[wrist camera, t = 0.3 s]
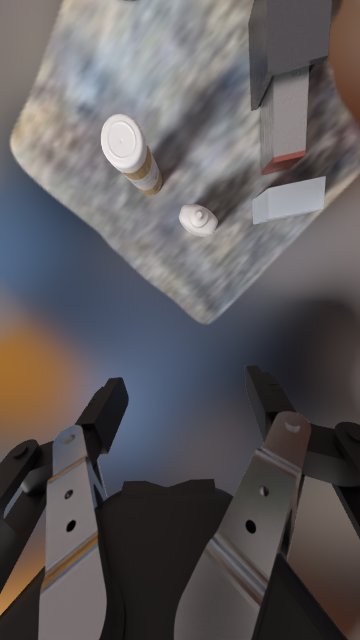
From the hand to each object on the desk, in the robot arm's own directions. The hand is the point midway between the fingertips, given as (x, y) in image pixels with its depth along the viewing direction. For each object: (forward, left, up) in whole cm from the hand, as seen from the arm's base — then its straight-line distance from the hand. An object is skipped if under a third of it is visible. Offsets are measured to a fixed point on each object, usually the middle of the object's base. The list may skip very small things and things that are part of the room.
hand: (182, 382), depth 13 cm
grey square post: (-24, +16, -28) cm, 40 cm away
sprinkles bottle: (-19, -4, -28) cm, 34 cm away
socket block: (-11, +16, -28) cm, 34 cm away
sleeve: (-29, +16, -28) cm, 43 cm away
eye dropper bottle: (-11, +3, -28) cm, 31 cm away
